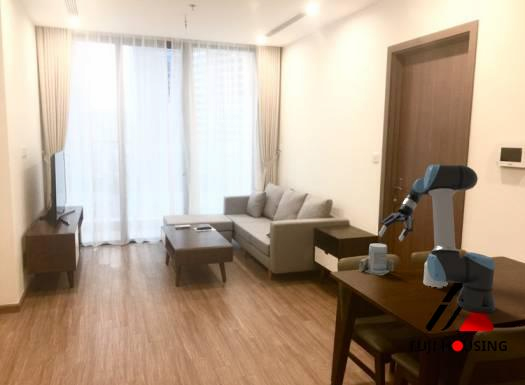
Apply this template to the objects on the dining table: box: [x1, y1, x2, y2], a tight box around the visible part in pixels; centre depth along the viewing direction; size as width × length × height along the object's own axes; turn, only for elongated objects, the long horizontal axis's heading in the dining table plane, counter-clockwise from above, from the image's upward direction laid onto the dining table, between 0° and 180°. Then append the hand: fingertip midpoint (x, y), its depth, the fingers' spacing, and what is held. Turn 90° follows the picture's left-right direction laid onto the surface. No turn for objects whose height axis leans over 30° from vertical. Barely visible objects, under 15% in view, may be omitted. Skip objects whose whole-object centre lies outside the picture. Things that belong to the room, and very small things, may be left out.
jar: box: [422, 253, 449, 289], centre depth 214 cm, size 12×10×15 cm
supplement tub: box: [367, 242, 388, 273], centre depth 233 cm, size 10×10×15 cm
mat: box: [364, 269, 390, 276], centre depth 233 cm, size 10×10×1 cm
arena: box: [358, 256, 395, 273], centre depth 234 cm, size 14×14×6 cm
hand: (389, 237), depth 236 cm, fingers open, 13 cm apart
